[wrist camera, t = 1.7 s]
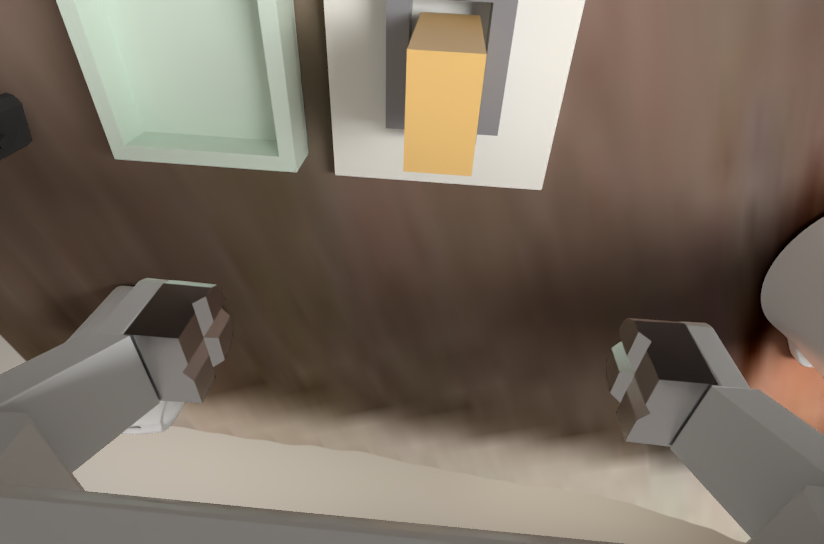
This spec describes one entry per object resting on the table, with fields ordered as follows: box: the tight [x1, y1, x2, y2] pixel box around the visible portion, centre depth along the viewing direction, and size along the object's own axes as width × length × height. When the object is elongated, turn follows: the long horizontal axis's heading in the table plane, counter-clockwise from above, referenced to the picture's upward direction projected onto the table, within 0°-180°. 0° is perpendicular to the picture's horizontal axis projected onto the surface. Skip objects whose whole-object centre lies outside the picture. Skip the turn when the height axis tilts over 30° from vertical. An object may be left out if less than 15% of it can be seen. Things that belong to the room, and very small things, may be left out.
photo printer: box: [66, 286, 185, 434], centre depth 38 cm, size 10×4×12 cm, turn 78°
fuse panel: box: [324, 0, 585, 190], centre depth 27 cm, size 14×16×3 cm
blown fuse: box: [403, 12, 487, 176], centre depth 23 cm, size 3×5×10 cm, turn 178°
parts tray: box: [56, 0, 309, 172], centre depth 27 cm, size 12×14×3 cm
